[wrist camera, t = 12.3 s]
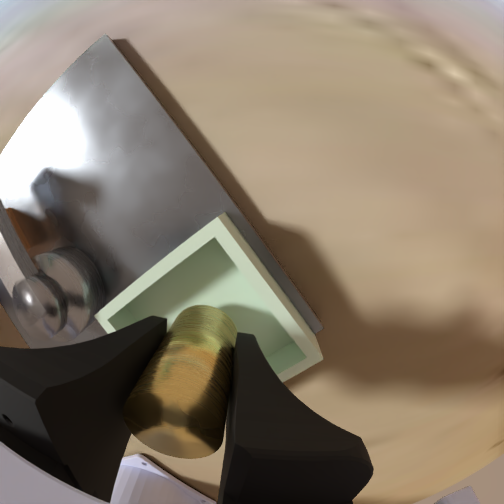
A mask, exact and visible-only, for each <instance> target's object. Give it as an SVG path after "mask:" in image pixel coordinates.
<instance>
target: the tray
mask: <svg viewBox="0 0 504 504" xmlns="http://www.w3.org/2000/svg"><path fill="white" fill-rule="evenodd" d="M194 305H208V306H212V307H215V308H218V309H220V310H221V311H223V312H224V313H226V314H227V315H228V316H229V317H230V318H231V319H232V321H233V322H234V324H235V326H236V329H237V332H241V333H248V334H254V336H255V337H256V340H257V342H258V344H259V347H260V349H261V351H262V353H263V354H264V356H265V358H266V360H267V361H268V363H269V365H270V366H271V368H272V369H273V371H274V372H275V373H276V375H277V376H278V378H279V379H280V380H281V381H282V383H283V382H285V381H286V380H288V379H290V378H292V377H294V376H296V375H297V374H299V373H301V372H303V371H304V370H306V369H308V368H310V367H311V366H313V365H315V364H316V363H318V362H320V361H321V360H323V359H324V358H323V356H322V353H321V350H320V347H319V344H318V341H317V339H316V336H315V334H314V332H313V331H312V329H311V328H310V327H309V325H308V324H307V323H306V321H305V320H304V318H303V317H302V316H301V314H300V313H299V312H298V310H297V309H296V308H295V306H294V305H293V303H292V302H291V301H290V299H289V298H288V297H287V295H286V294H285V293H284V291H283V290H282V288H281V287H280V286H279V284H278V283H277V282H276V280H275V279H274V278H273V276H272V275H271V273H270V272H269V271H268V269H267V268H266V267H265V265H264V264H263V263H262V261H261V260H260V258H259V257H258V256H257V254H256V253H255V252H254V250H253V249H252V248H251V246H250V245H249V243H248V242H247V241H246V239H245V238H244V237H243V235H242V234H241V233H240V231H239V230H238V228H237V227H236V226H235V224H234V223H233V222H232V220H231V219H230V218H229V216H228V215H227V214H226V212H224V213H223V214H221V215H219V216H218V217H216V218H215V219H214V220H212V221H211V222H210V223H208V224H207V225H206V226H204V227H203V228H202V229H201V230H199V231H198V232H197V233H195V234H194V235H193V236H191V237H190V238H189V239H187V240H186V241H185V242H184V243H182V244H181V245H180V246H178V247H177V248H176V249H175V250H173V251H172V252H171V253H169V254H168V255H167V256H166V257H164V258H163V259H162V260H161V261H159V262H158V263H157V264H156V265H154V266H153V267H152V268H151V269H149V270H148V271H147V272H146V273H144V274H143V275H142V276H141V277H139V278H138V279H137V280H136V281H135V282H133V283H132V284H131V285H130V286H129V287H127V288H126V289H125V290H124V291H123V292H121V293H120V294H119V295H118V296H117V297H115V298H114V299H113V300H112V301H111V302H109V303H108V304H107V305H106V306H105V307H104V308H102V309H101V310H100V311H99V312H98V313H97V314H95V315H94V317H95V318H96V319H97V321H98V322H99V323H100V324H101V326H102V327H103V328H104V329H105V331H106V332H107V333H108V334H109V333H112V332H114V331H117V330H119V329H122V328H124V327H126V326H129V325H131V324H133V323H135V322H138V321H140V320H142V319H144V318H147V317H149V316H152V315H153V316H158V317H162V318H167V332H168V330H169V329H170V327H171V325H172V324H173V322H174V320H175V319H176V317H177V316H178V315H179V313H180V312H182V311H183V310H184V309H186V308H188V307H191V306H194Z"/></svg>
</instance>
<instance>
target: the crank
mask: <svg viewBox="0 0 504 504" xmlns="http://www.w3.org/2000/svg"><path fill="white" fill-rule="evenodd" d="M0 278H1V280H2V282H3V284H4V285H5V287H6V289H7V291H8V292H9V294H10V296H11V297H12V301H13V307H14V310H15V313H16V315H17V318H18V320H19V322H20V323H21V325H22V326H23V328H24V329H25V330H26V331H27V332H28V333H29V334H30V335H31V336H32V337H34V338H35V339H37V340H40V341H48V340H50V339H51V338H52V337H53V336H55V335H56V334H57V333H58V332H60V331H61V330H62V329H63V328H64V327H65V325H66V323H67V317H68V313H67V306H66V302H65V299H64V297H63V294H62V292H61V290H60V289H59V287H58V286H57V284H56V283H55V282H54V281H53V280H52V279H51V278H50V277H49V276H47V275H46V274H44V273H41V272H38V270H37V269H36V267H35V265H34V264H33V262H32V260H31V258H30V257H29V255H28V253H27V251H26V250H25V248H24V246H23V244H22V242H21V240H20V238H19V237H18V235H17V233H16V231H15V229H14V227H13V225H12V223H11V221H10V218H9V216H8V214H7V212H6V210H5V208H4V205H3V203H2V201H1V199H0Z"/></svg>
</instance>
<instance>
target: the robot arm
mask: <svg viewBox="0 0 504 504" xmlns="http://www.w3.org/2000/svg"><path fill="white" fill-rule="evenodd" d="M166 334H167V318H162V317H158V316H153V315H152V316H149V317H147V318H144V319H142V320H140V321H138V322H135V323H133V324H131V325H129V326H126V327H124V328H122V329H119V330H117V331H114V332H112V333H109V334H106V335H104V336H101V337H98V338H95V339H92V340H89V341H85V342H81V343H77V344H72V345H65V346H59V347H51V348H37V349H22V348H9V347H0V504H216V502H215V501H213V500H212V499H210V498H208V497H206V496H204V495H203V494H201V493H199V492H197V491H196V490H194V489H192V488H191V487H189V486H187V485H186V484H184V483H182V482H181V481H179V480H178V479H176V478H175V477H173V476H172V475H170V474H169V473H167V472H166V471H164V470H163V469H161V468H160V467H158V466H157V465H156V464H154V463H153V462H152V461H150V460H149V459H147V458H146V457H145V456H143V455H141V454H135V455H131V456H127V457H123V455H124V452H125V449H126V446H127V443H128V441H129V438H130V435H131V431H130V430H129V429H128V427H127V426H126V424H125V421H124V418H123V407H124V404H125V402H126V401H127V399H128V397H129V396H130V394H131V392H132V390H133V389H134V387H135V385H136V384H137V382H138V380H139V378H140V377H141V375H142V373H143V372H144V370H145V368H146V367H147V365H148V363H149V362H150V360H151V358H152V357H153V355H154V353H155V352H156V350H157V348H158V347H159V345H160V343H161V342H162V340H163V338H164V337H165V335H166ZM372 476H373V466H372V463H371V460H370V457H369V454H368V452H367V449H366V447H365V445H364V443H363V441H362V439H361V437H359V436H356V435H354V434H352V433H350V432H348V431H346V430H344V429H342V428H340V427H338V426H336V425H334V424H332V423H331V422H329V421H327V420H326V419H324V418H323V417H321V416H320V415H318V414H317V413H315V412H314V411H313V410H311V409H310V408H309V407H307V406H306V405H305V404H304V403H303V402H301V401H300V400H299V399H298V398H297V397H296V396H295V395H294V394H293V393H292V392H291V391H290V390H289V389H288V388H287V387H286V386H285V385H284V384H283V383H282V381H281V380H280V379H279V378H278V376H277V375H276V373H275V372H274V371H273V369H272V368H271V366H270V365H269V363H268V361H267V360H266V358H265V356H264V354H263V353H262V351H261V349H260V347H259V344H258V342H257V340H256V337H255V336H254V334H248V333H241V332H237V337H236V344H235V350H234V356H233V364H232V381H231V389H230V396H229V403H228V409H227V418H226V444H225V453H224V460H223V468H222V475H221V481H220V488H219V495H218V502H217V504H353V502H352V500H353V499H354V498H355V497H356V496H357V494H358V493H359V492H360V491H361V490H362V489H363V488H364V487H365V486H366V484H367V483H368V482H369V480H370V479H371V477H372ZM434 504H480V502H479V500H478V498H477V497H476V495H475V493H474V491H473V489H472V487H471V486H468V487H465V488H463V489H461V490H458V491H456V492H454V493H451V494H449V495H447V496H445V497H443V498H441V499H440V500H438V501H437V502H436V503H434Z"/></svg>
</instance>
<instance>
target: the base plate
mask: <svg viewBox="0 0 504 504" xmlns="http://www.w3.org/2000/svg"><path fill="white" fill-rule="evenodd" d="M0 199H1V201H2V203H3V205H4V208H5V210H6V212H7V214H8V216H9V218H10V221H11V223H12V225H13V227H14V229H15V231H16V233H17V235H18V237H19V238H20V240H21V242H22V244H23V246H24V248H25V250H26V251H27V253H28V255H29V257H30V258H31V260H32V262H33V264H34V265H35V267H36V269H37V270H38V272H41V273H44V274H46V275H47V276H49V277H50V278H51V279H52V280H53V281H54V282H55V283H56V284H57V286H58V287H59V289H60V290H61V292H62V294H63V297H64V299H65V302H66V306H67V313H68V317H67V323H66V325H65V327H64V328H63V329H62V330H61V331H60V332H58V333H57V334H56V335H55V336H53V337H52V338H51V339H50V340H48V341H40V340H37V339H35V338H34V337H32V336H31V335H30V334H29V333H28V332H27V331H26V330H25V329H24V328H23V326H22V325H21V323H20V322H19V320H18V318H17V315H16V313H15V310H14V307H13V301H12V297H11V296H10V294H9V292H8V291H7V289H6V287H5V285H4V284H3V282H2V280H1V278H0V302H1V304H2V306H3V308H4V309H5V311H6V313H7V314H8V316H9V317H10V319H11V321H12V322H13V324H14V325H15V327H16V328H17V330H18V331H19V333H20V334H21V336H22V337H23V339H24V340H25V342H26V343H27V344H28V346H29V347H30V348H31V349H37V348H51V347H59V346H65V345H72V344H77V343H81V342H85V341H89V340H92V339H95V338H98V337H101V336H104V335H106V334H108V333H107V332H106V331H105V329H104V328H103V327H102V326H101V324H100V323H99V322H98V321H97V319H96V318H95V317H94V315H95V314H97V313H98V312H99V311H100V310H101V309H102V308H104V307H105V306H106V305H107V304H108V303H109V302H111V301H112V300H113V299H114V298H115V297H117V296H118V295H119V294H120V293H121V292H123V291H124V290H125V289H126V288H127V287H129V286H130V285H131V284H132V283H133V282H135V281H136V280H137V279H138V278H139V277H141V276H142V275H143V274H144V273H146V272H147V271H148V270H149V269H151V268H152V267H153V266H154V265H156V264H157V263H158V262H159V261H161V260H162V259H163V258H164V257H166V256H167V255H168V254H169V253H171V252H172V251H173V250H175V249H176V248H177V247H178V246H180V245H181V244H182V243H184V242H185V241H186V240H187V239H189V238H190V237H191V236H193V235H194V234H195V233H197V232H198V231H199V230H201V229H202V228H203V227H204V226H206V225H207V224H208V223H210V222H211V221H212V220H214V219H215V218H216V217H218V216H219V215H221V214H223V213H224V212H226V214H227V215H228V216H229V218H230V219H231V220H232V222H233V223H234V224H235V226H236V227H237V228H238V230H239V231H240V233H241V234H242V235H243V237H244V238H245V239H246V241H247V242H248V243H249V245H250V246H251V248H252V249H253V250H254V252H255V253H256V254H257V256H258V257H259V258H260V260H261V261H262V263H263V264H264V265H265V267H266V268H267V269H268V271H269V272H270V273H271V275H272V276H273V278H274V279H275V280H276V282H277V283H278V284H279V286H280V287H281V288H282V290H283V291H284V293H285V294H286V295H287V297H288V298H289V299H290V301H291V302H292V303H293V305H294V306H295V308H296V309H297V310H298V312H299V313H300V314H301V316H302V317H303V318H304V320H305V321H306V323H307V324H308V325H309V327H310V328H311V329H312V331H313V332H314V334H316V333H317V332H319V331H320V330H322V329H324V328H323V326H322V323H321V321H320V320H319V318H318V317H317V315H316V314H315V312H314V311H313V310H312V308H311V307H310V305H309V304H308V303H307V301H306V300H305V298H304V297H303V295H302V294H301V293H300V291H299V290H298V288H297V287H296V286H295V284H294V283H293V281H292V280H291V279H290V277H289V276H288V274H287V273H286V272H285V270H284V269H283V267H282V266H281V265H280V263H279V262H278V260H277V259H276V258H275V256H274V255H273V253H272V252H271V251H270V249H269V248H268V247H267V245H266V244H265V242H264V241H263V240H262V238H261V237H260V235H259V234H258V233H257V231H256V230H255V229H254V227H253V226H252V224H251V223H250V222H249V220H248V219H247V218H246V216H245V215H244V213H243V212H242V211H241V209H240V208H239V207H238V205H237V204H236V203H235V201H234V200H233V198H232V197H231V196H230V194H229V193H228V192H227V190H226V189H225V188H224V186H223V185H222V184H221V182H220V181H219V179H218V178H217V177H216V175H215V174H214V173H213V171H212V170H211V169H210V167H209V166H208V165H207V163H206V162H205V161H204V159H203V158H202V157H201V155H200V154H199V153H198V151H197V150H196V149H195V147H194V146H193V145H192V143H191V142H190V141H189V139H188V138H187V137H186V135H185V134H184V133H183V131H182V130H181V129H180V127H179V126H178V125H177V123H176V122H175V121H174V119H173V118H172V117H171V115H170V114H169V113H168V112H167V110H166V109H165V108H164V106H163V105H162V104H161V102H160V101H159V100H158V98H157V97H156V96H155V95H154V93H153V92H152V91H151V89H150V88H149V87H148V85H147V84H146V83H145V82H144V80H143V79H142V78H141V76H140V75H139V74H138V72H137V71H136V70H135V69H134V67H133V66H132V65H131V64H130V62H129V61H128V60H127V58H126V57H125V56H124V55H123V53H122V52H121V51H120V49H119V48H118V47H117V46H116V44H115V43H114V42H113V41H112V39H111V38H109V37H108V36H107V35H106V34H104V35H103V36H102V37H101V38H100V39H98V40H97V41H96V42H95V43H94V44H93V45H92V46H91V47H89V48H88V49H87V50H86V51H85V52H84V53H83V54H82V55H81V56H80V57H79V58H78V59H77V60H76V61H75V62H74V63H73V64H72V65H71V66H70V67H69V68H68V69H67V70H66V71H65V72H64V73H63V74H62V75H61V76H60V77H59V78H58V79H57V81H56V82H55V83H54V84H53V85H52V86H51V87H50V88H49V90H48V91H47V92H46V93H45V94H44V95H43V97H42V98H41V99H40V100H39V102H38V103H37V104H36V105H35V107H34V108H33V109H32V110H31V112H30V113H29V114H28V116H27V117H26V118H25V120H24V121H23V123H22V124H21V125H20V127H19V128H18V130H17V131H16V132H15V134H14V135H13V137H12V138H11V140H10V141H9V143H8V145H7V146H6V148H5V149H4V151H3V153H2V154H1V156H0Z"/></svg>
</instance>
